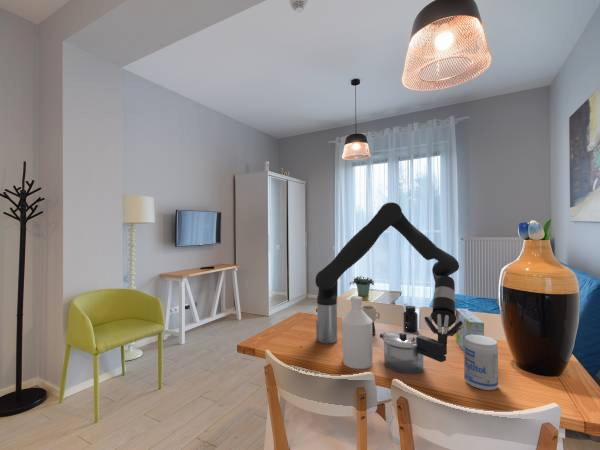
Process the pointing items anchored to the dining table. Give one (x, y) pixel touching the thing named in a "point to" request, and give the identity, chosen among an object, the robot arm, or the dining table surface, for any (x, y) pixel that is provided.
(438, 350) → the lid
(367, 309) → the character mug
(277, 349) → the dining table surface
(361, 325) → the bottle
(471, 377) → the supplement tub
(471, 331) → the snack box
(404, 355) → the pot
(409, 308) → the supplement bottle
